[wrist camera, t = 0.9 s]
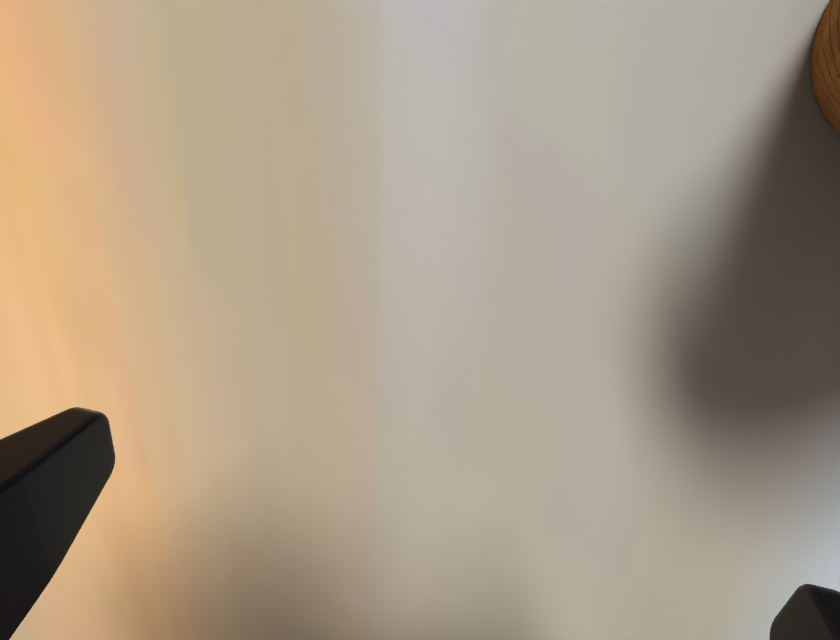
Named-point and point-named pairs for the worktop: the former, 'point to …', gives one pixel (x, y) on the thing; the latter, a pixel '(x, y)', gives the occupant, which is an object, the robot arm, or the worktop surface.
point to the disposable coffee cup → (828, 64)
